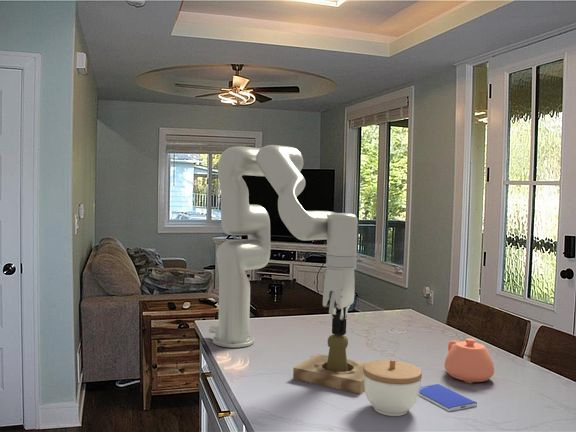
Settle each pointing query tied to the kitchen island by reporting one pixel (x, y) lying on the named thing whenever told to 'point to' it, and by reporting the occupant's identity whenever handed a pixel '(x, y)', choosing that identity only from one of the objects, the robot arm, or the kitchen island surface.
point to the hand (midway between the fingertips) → (338, 334)
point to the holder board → (331, 374)
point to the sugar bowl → (469, 361)
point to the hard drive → (445, 397)
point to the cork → (337, 353)
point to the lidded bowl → (392, 386)
